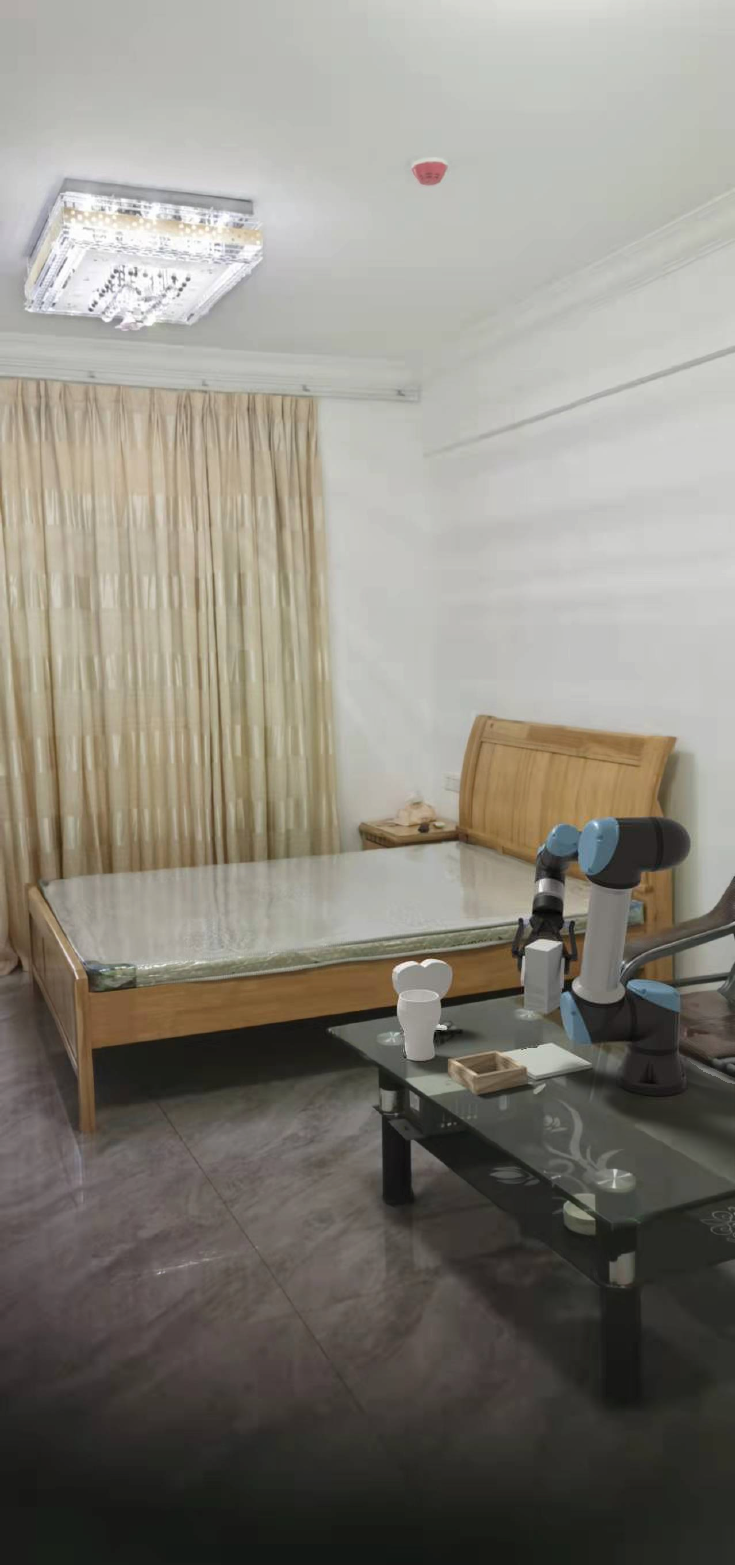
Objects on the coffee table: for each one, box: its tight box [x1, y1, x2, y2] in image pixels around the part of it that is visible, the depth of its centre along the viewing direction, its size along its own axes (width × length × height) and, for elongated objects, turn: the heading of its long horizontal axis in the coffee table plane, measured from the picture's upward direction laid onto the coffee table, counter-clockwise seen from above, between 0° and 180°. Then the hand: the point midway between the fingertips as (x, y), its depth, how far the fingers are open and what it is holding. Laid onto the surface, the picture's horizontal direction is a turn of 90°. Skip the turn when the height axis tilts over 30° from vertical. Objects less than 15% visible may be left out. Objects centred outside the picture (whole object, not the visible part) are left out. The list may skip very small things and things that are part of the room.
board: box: [502, 1042, 593, 1081], centre depth 279 cm, size 16×16×1 cm
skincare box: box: [523, 938, 564, 1015], centre depth 276 cm, size 8×7×16 cm
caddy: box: [447, 1049, 528, 1096], centre depth 268 cm, size 12×13×4 cm
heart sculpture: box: [391, 958, 454, 1031], centre depth 302 cm, size 16×5×18 cm, turn 111°
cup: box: [396, 990, 442, 1062], centre depth 283 cm, size 11×11×15 cm
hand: (542, 984), depth 273 cm, fingers closed on skincare box, 8 cm apart
